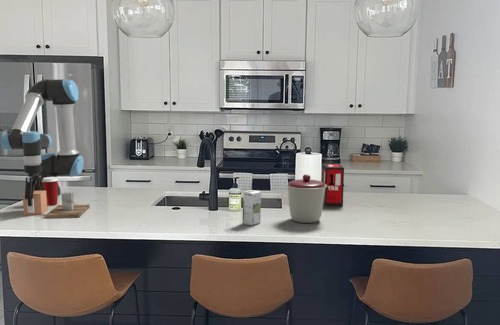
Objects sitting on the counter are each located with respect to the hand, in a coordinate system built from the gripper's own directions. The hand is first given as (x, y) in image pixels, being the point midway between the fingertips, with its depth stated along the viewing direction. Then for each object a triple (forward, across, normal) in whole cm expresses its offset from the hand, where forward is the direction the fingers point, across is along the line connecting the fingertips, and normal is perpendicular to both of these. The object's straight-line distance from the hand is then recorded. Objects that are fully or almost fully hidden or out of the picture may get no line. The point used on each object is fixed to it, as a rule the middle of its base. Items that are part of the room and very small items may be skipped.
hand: (35, 209), depth 219 cm
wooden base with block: (+2, +1, +16) cm, 16 cm away
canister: (+2, +26, +126) cm, 129 cm away
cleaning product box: (+2, -8, +148) cm, 148 cm away
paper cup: (+2, -17, +2) cm, 17 cm away
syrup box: (+2, +29, +101) cm, 105 cm away
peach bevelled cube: (+2, 0, 0) cm, 2 cm away
